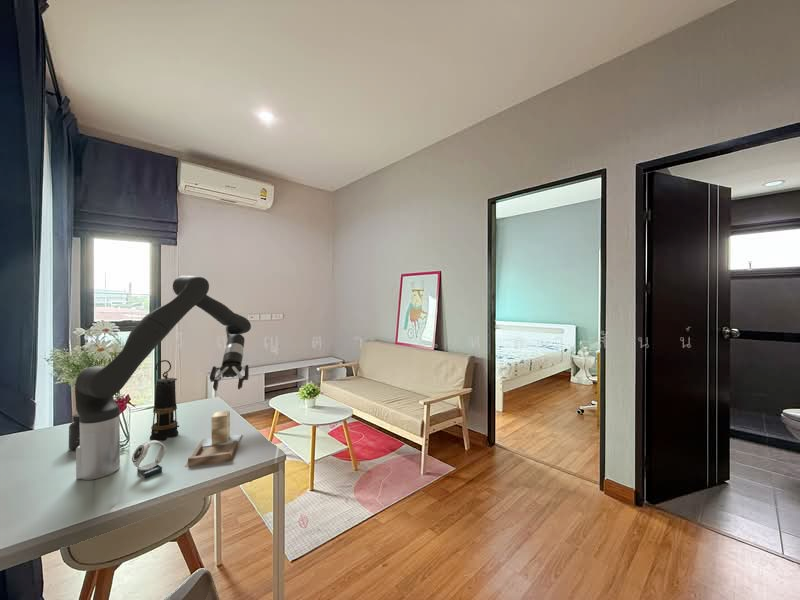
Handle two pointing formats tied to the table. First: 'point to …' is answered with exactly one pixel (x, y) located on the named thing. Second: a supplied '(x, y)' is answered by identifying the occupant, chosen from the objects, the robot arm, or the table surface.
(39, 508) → the table surface
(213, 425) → the birch block
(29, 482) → the table surface
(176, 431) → the lantern
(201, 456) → the brown wooden flat tray
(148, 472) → the watch
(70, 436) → the supplement bottle
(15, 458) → the table surface
